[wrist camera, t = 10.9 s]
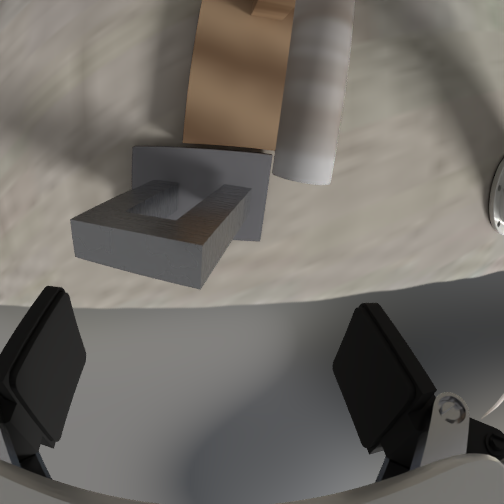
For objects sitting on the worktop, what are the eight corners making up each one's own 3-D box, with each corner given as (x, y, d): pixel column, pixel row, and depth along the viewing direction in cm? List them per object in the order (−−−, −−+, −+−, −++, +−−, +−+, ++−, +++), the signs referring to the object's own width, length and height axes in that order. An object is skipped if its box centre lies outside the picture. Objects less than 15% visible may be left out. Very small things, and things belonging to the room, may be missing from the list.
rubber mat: (270, 154, 23) (272, 155, 22) (258, 238, 26) (259, 241, 25) (134, 146, 21) (132, 146, 20) (134, 232, 24) (132, 235, 23)
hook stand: (206, -15, 15) (214, -148, 1) (326, 5, 17) (454, -68, 3) (183, 141, 21) (136, 197, 7) (306, 153, 23) (439, 225, 9)
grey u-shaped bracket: (252, 188, 22) (202, 245, 12) (248, 215, 23) (200, 289, 13) (162, 176, 23) (70, 219, 13) (161, 201, 24) (75, 256, 14)
